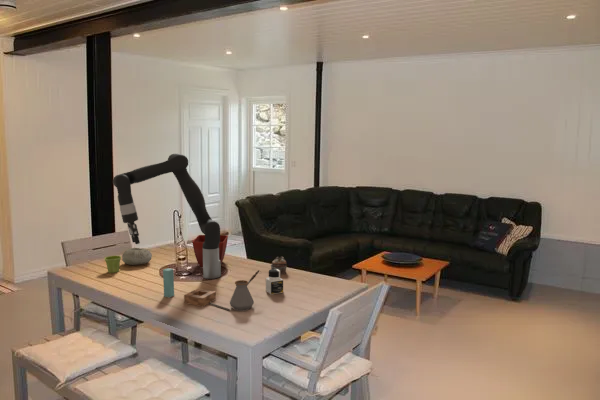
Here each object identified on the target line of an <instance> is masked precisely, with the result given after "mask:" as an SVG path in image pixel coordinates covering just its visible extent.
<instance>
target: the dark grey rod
mask: <svg viewBox="0 0 600 400" xmlns="http://www.w3.org/2000/svg"><path fill="white" fill-rule="evenodd" d="M208 305H212V306H214V307H217V308H220V309H223V310H226V311H229V312H230V308H227V307H225V306H222V305H219V304H216V303H213V302H209V303H208Z"/></svg>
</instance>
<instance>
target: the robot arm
mask: <svg viewBox="0 0 600 400" xmlns="http://www.w3.org/2000/svg"><path fill="white" fill-rule="evenodd" d="M188 166H189V159H188V156H186V155H185V154H181V153H173V154H170V155H169V156H168V158H167V160H165V161H162V162H159V163H154V164H150V165H145V166H142V167H141V166H140V167H138V168H136V169H133V170H131V171H130V170H129V171H127V172H123V173H120V174H116V175H115V176H114V177H113V179H112V185H113V186H114V187H115V188H116V189H117V200H118V205H119V211H120V214H121V220H122V223H123V224H127V229H128V234H129V235H130V237H131V240H132V243H134V244H135V245H139V244H140V243H141V242H140V238H139V236H140V233H139V228H138V226H137V224H136V223H135V222H136V221H138V220H139V216H138V212H137V209H136V205H135V203H134V199H133V194H132V187H131V185H134V184H139V183H142V182H145V181H148V180H151V179H153V178H156V177H158V176H159V177H160V176H162V175H164V174H165V175H166V174H170V173H173V175H174V177H175V178H176V180H177V182H178V184H179V187H180V190H181V191H182V193H183V196H184V198H185V200H186V202H187V204H188V205H189V207H190V209H191V211H192V213H193V214H194V216H195V219H196V221H197V224H198V227H199V228H200V231H201V232H202V235H205V242H204V243H203V267H202V272H203V273H202V274H203V275H202V276H203V278H204V279H207V280H208V279H209V280H211V279H217V278H220V277H221V276H222V267H221V266H222V263H221V261H220V260H219V243H220V235H221V227H220V226H221V225H220V224H219V222H217V221H215V220H213V219H212V217H211V216H210V213H209V212H208V210H207V207H206V200H205V197H204V194H203V193H202V191H201V189H200V187H199V185H198V184H197V183H196V181H195V180H194V179H193V177H192V176H191V175H190V174H189V172H188Z"/></svg>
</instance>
